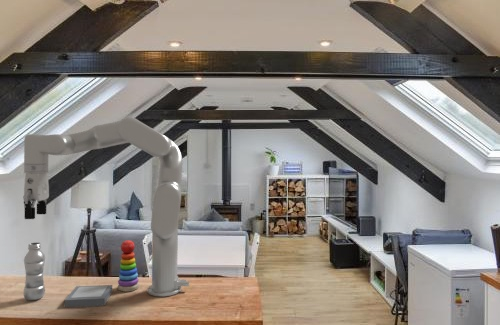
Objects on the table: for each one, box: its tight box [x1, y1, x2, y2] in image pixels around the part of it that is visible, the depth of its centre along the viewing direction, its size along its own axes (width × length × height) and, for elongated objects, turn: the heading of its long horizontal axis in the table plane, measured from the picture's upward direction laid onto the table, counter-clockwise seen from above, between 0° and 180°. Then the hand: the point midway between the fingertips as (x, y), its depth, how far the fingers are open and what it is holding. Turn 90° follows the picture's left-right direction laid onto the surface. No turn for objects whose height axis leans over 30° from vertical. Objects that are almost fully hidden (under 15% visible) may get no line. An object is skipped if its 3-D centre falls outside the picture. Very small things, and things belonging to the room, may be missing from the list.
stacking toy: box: [117, 239, 140, 292], centre depth 145 cm, size 8×8×19 cm
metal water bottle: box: [23, 242, 46, 301], centre depth 133 cm, size 6×7×20 cm
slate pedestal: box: [64, 284, 113, 308], centre depth 134 cm, size 13×13×3 cm
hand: (35, 216), depth 134 cm, fingers open, 9 cm apart
